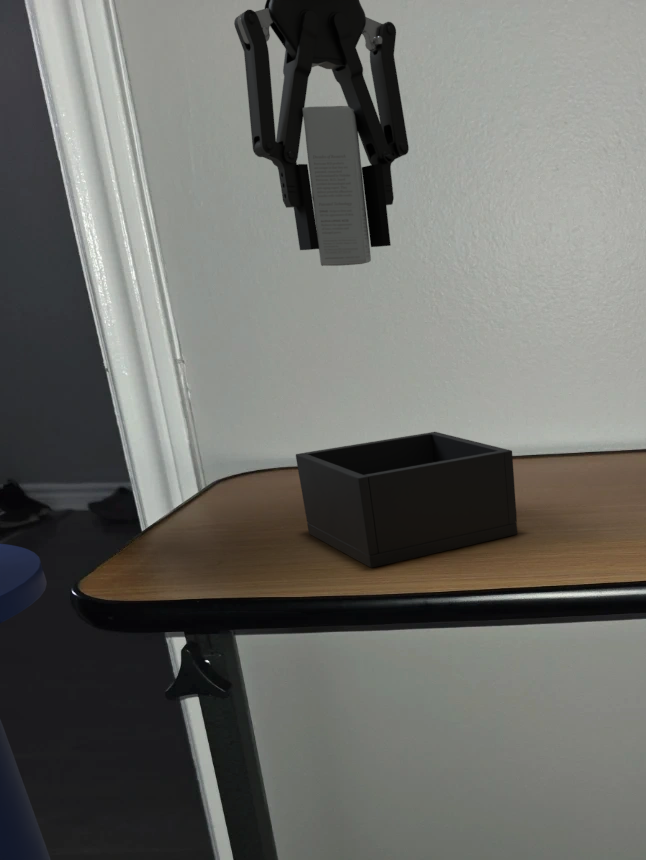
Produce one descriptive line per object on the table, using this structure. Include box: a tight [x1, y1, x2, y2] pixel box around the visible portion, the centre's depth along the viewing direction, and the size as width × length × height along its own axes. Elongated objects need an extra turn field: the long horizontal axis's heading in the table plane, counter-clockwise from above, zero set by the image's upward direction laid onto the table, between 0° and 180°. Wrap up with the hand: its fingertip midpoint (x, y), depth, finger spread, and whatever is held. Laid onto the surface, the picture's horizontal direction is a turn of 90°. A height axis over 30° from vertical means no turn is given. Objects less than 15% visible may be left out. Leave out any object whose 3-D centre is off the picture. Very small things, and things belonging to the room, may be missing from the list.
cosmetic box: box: [302, 105, 372, 267], centre depth 83 cm, size 6×4×12 cm
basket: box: [295, 431, 518, 569], centre depth 79 cm, size 14×14×7 cm
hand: (345, 247), depth 85 cm, fingers closed on cosmetic box, 6 cm apart
